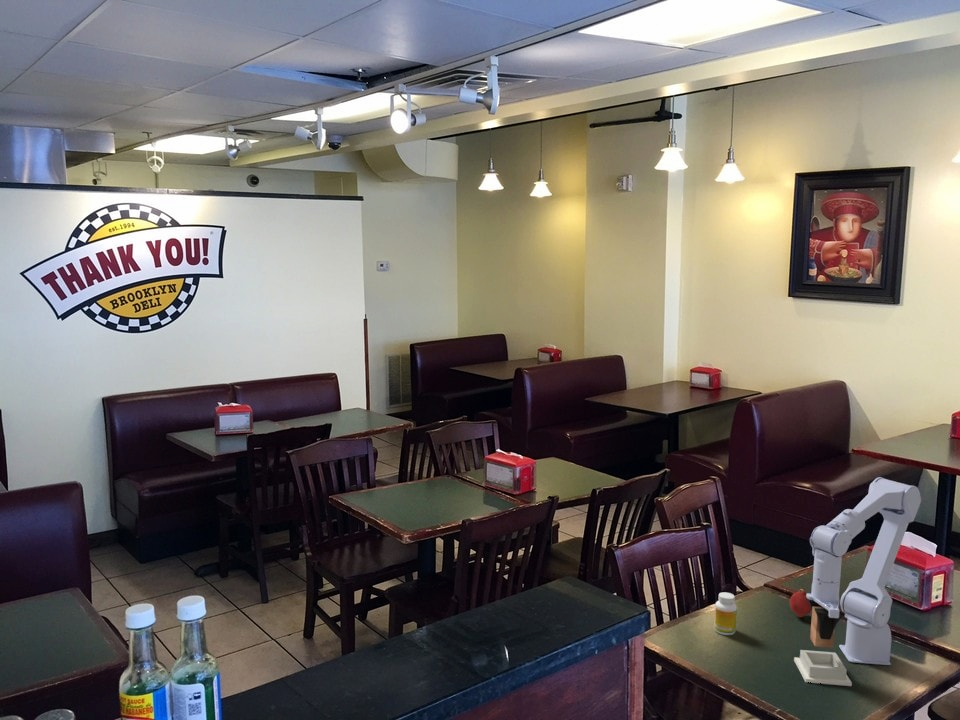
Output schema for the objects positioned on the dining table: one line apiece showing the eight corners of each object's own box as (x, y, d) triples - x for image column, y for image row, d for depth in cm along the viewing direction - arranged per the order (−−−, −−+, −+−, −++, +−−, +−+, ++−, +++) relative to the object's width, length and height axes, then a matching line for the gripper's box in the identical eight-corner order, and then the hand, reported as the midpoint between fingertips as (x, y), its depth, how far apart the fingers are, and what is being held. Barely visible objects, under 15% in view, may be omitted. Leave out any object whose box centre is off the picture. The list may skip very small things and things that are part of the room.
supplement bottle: (736, 636, 198) (738, 600, 197) (714, 634, 199) (717, 598, 198) (734, 627, 203) (736, 592, 202) (713, 625, 204) (715, 590, 203)
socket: (837, 663, 185) (838, 650, 185) (851, 686, 175) (852, 672, 175) (794, 660, 187) (794, 647, 186) (805, 682, 177) (806, 668, 176)
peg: (827, 639, 182) (830, 607, 181) (833, 647, 178) (835, 614, 177) (810, 638, 183) (812, 606, 182) (814, 646, 179) (817, 613, 178)
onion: (791, 610, 214) (793, 582, 213) (813, 616, 211) (816, 588, 210) (786, 617, 209) (788, 589, 208) (808, 623, 206) (810, 595, 205)
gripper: (800, 565, 186) (796, 618, 188) (817, 589, 172) (813, 647, 174) (830, 567, 185) (826, 620, 187) (850, 592, 171) (846, 650, 173)
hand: (822, 633), depth 180 cm, fingers closed on peg, 4 cm apart
